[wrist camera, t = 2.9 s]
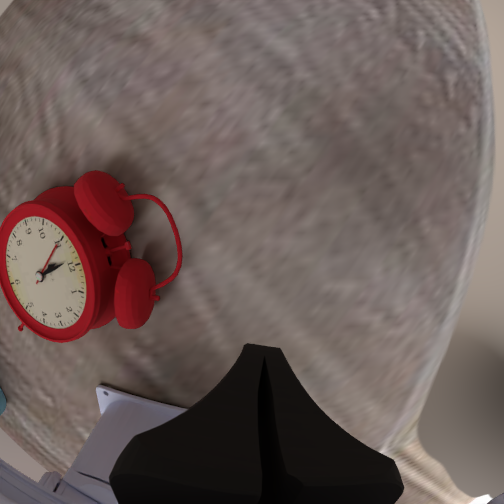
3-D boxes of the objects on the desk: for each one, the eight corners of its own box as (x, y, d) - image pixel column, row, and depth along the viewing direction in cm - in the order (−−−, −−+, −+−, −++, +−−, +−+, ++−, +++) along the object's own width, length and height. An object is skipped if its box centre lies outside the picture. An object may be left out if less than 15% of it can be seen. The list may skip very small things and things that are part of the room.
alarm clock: (-27, 225, 15) (85, 137, 10) (31, 206, 21) (165, 138, 16) (21, 352, 17) (163, 371, 12) (69, 318, 23) (214, 308, 18)
